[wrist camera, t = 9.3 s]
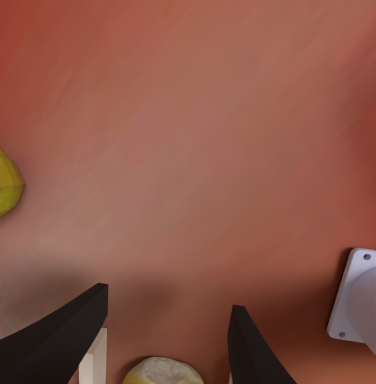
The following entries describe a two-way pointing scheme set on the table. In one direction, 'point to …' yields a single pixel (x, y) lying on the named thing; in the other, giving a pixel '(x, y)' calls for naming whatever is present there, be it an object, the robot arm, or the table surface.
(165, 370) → the bread roll
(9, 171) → the fruit
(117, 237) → the table surface
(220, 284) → the table surface
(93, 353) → the pocket
